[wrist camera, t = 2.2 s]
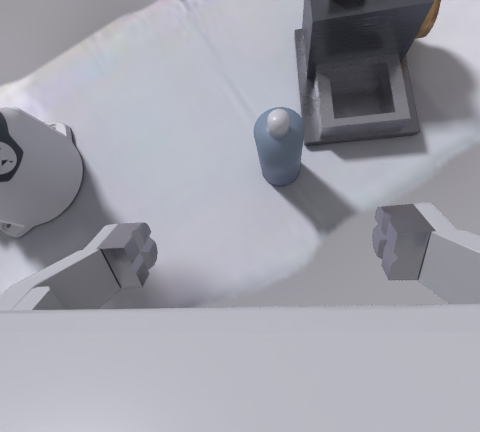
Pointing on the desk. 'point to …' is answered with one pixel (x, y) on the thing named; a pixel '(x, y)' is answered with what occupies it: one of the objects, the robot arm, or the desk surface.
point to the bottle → (279, 144)
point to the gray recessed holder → (359, 67)
